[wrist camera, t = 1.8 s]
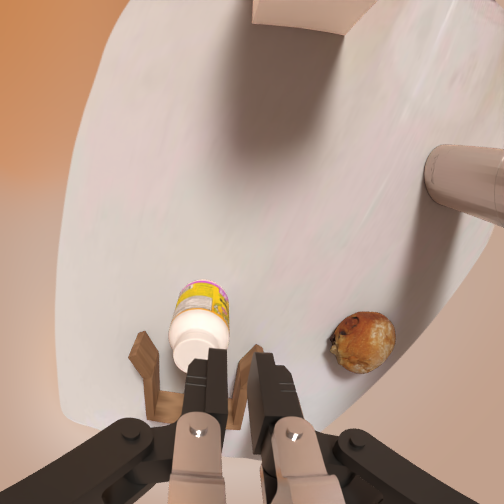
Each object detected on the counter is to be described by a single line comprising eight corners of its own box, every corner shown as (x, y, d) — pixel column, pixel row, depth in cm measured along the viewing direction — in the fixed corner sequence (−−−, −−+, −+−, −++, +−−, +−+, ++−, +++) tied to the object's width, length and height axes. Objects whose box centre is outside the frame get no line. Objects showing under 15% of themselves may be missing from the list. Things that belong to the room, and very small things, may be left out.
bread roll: (350, 351, 50) (380, 380, 44) (312, 355, 44) (345, 390, 38) (379, 304, 47) (414, 331, 41) (345, 300, 42) (384, 333, 35)
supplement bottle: (228, 322, 42) (229, 384, 30) (180, 320, 41) (166, 381, 29) (229, 277, 40) (231, 331, 28) (178, 276, 39) (159, 329, 27)
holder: (263, 344, 43) (268, 370, 38) (249, 404, 47) (252, 430, 42) (138, 329, 41) (127, 353, 36) (142, 392, 45) (134, 417, 39)
